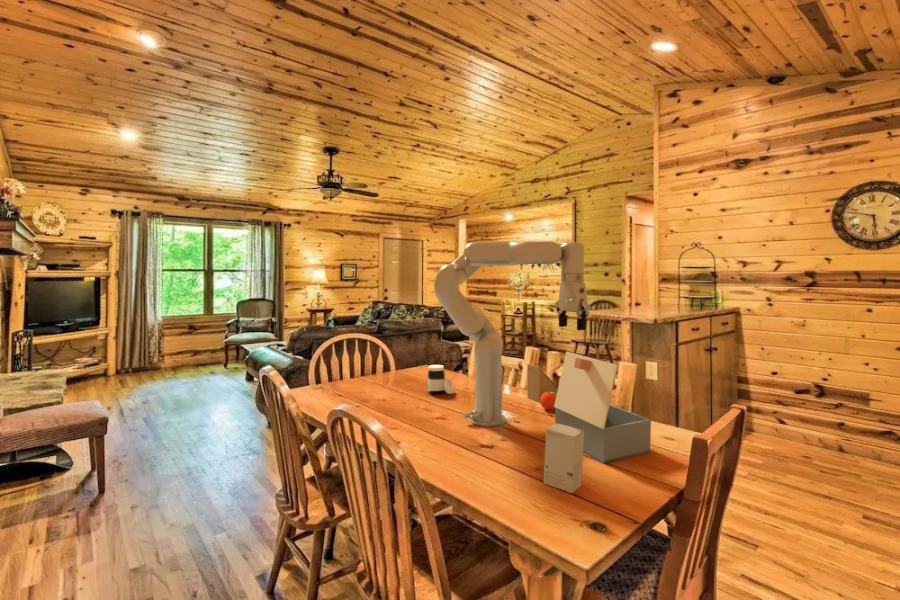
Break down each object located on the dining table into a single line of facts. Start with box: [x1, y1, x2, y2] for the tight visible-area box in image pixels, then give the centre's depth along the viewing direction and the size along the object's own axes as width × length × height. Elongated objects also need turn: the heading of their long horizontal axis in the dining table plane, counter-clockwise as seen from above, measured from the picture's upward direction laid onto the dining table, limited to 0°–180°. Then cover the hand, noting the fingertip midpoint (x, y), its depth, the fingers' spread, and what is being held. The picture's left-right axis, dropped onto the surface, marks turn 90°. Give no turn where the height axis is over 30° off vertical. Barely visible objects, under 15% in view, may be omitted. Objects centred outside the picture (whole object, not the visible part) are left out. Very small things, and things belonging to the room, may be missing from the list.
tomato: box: [539, 392, 557, 411], centre depth 176 cm, size 8×7×7 cm
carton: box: [554, 404, 652, 465], centre depth 141 cm, size 18×22×10 cm
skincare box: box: [543, 423, 584, 494], centre depth 116 cm, size 8×6×15 cm
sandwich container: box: [526, 363, 559, 404], centre depth 191 cm, size 9×15×15 cm, turn 116°
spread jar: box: [427, 364, 454, 395], centre depth 202 cm, size 12×11×12 cm
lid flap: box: [554, 351, 619, 429], centre depth 137 cm, size 18×22×5 cm
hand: (571, 328), depth 157 cm, fingers open, 9 cm apart
